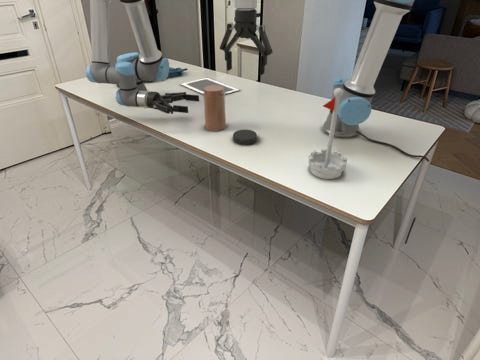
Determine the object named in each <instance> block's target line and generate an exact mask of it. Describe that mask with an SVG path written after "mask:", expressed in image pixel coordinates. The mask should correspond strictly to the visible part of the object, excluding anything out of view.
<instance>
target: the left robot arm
mask: <svg viewBox="0 0 480 360" xmlns="http://www.w3.org/2000/svg"><path fill="white" fill-rule="evenodd" d="M119 2H120V3H121V4H123V5H124V7H125V10H126V13H127V16H128V19H129V22H130V23H129V24H130V26H131V29H132V33H133V35H134V38H135V42H136V44H137V47H138V51H139V52H128V53H125V54H120V55H119V56H117V57H116V63H115V65H114V66H111V65H110V62H111V61H110V3H112V0H89V9H90V12H89V15H90V44H91V45H90V48H91V49H90V51H91V53H90V55H91V64H89V65H88V66H86V69H85V77H86V79H87V80H88V81H89V82H90V83H94V84H109V85H116V86H117V88H119V89H118V90H116V94H115V101H116V102H117V104H118V105H119V106H124V107H131V108H132V107H133V108H143V109H152V110H157V111H160V112H161V113H165V114H167V115H170V114H171V115H173V114H174V113H183V114H189V106H188V105H177V104H173V105H171V104H172V103H173V102H178V101H183V100H185V101H187V102H188V101H189V102H200V95H199V94H188V93H187V91H181V92H180V91H179V92H165V93H164V95H161V94H160V93H159V92H158V91H150V90H148V88H147V87H146V85H145V81H143V80H147V81H146V82H156V83H157V82H165V81H166V80H167V78H169V76H168V74H169V67H170V61H169V59H168V58H166V57H163V53H162V51H160V50H159V49H158V47H157V42H156V39H155V35H154V32H153V28H152V24H151V21H150V17H149V13H148V9H147V6H146V2H145V0H119Z"/></svg>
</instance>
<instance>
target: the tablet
mask: <svg viewBox="0 0 480 360" xmlns="http://www.w3.org/2000/svg"><path fill="white" fill-rule="evenodd" d="M179 85H180V86H183V87H185V88H187V89H189V90H192V91H194V92H196V93H198V94H201V95H203V93H204V88H205V87H206V86H209V85H220V86H223V87H224V92H225V96H226V95H229V94H232V93H236V92H240V91H241V90H240V89H238V88H237V87H233V86H230V85H228V84H226V83H222V82H220V81H217V80H214V79H212V78H210V77H204V78H200V79H195V80H191V81H187V82H183V83H180V84H179Z"/></svg>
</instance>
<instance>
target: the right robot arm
mask: <svg viewBox="0 0 480 360" xmlns="http://www.w3.org/2000/svg"><path fill="white" fill-rule="evenodd" d="M414 3H415V0H374V1H373V4H374V6H375V11H374V14H373V17H372V20H371V23H370V25H369V28H368V31H367V34H366V36H365V38H364V42H363V44H362V46H361V50H360V52H359V55H358V58H357V60H356V63H355V65H354V68H353V70H352V74H351V76H350V77H349V76H343V77H342V76H341V77H337V78H335V79H334V82H333V85H332V87H333V88H332V93H331V100H332V99H334V98H335V96H334V90H335V89H336V88H341V89H342V90H343V95H342V96H341V97H340V101H339V107H338V113H337V120H336V126H335V132H334V137H335V138H339V139H341V138H342V139H349V138H354V137H356V136H357V135H360V136H362V137H363V138H364V139H366V140H368V141H369V142H372V143H376V144H381V145H386V146H389V147H392V148H394V149H396V150H397V151H399V152H400V153H402V154H404V155H407V156H408V157H411V158H422V159H424V160H426V162H430V159H429V158H428V157H427V156H425V155H420V154H419V155H415V154H411V153H408V152H405V151H404V150H402V149H401V148H400V147H398V146H396V145H394V144H391V143H388V142H384V141H379V140H375V139H372V138H369V137H368V136H366V135H365V134H364V133H361V131H360V124H362V123H364V122H366V121H367V120H368V119H369V118H370V116H371V113H372V104H371V103H372V102H373V99H374V97H375V95H376V89H375V87H374V86H375V83H376V82H377V81H376V80H377V79H378V76H379V73H380V71H381V69H382V66H383V64H384V62H385V59H386V57H387V55H388V53H389V49H390V47H391V44H392V42H393V40H394V38H395V35H396V33H397V30H398V28H399V25H400V23H401V20H402V19H403V16H405V15H406V14H407V13H410V11H411V10H412V7H413V5H414ZM257 7H258V0H234V8H235V10H234V21H235V22H234V23H233V22H228V23H227V24H226V30H225V33H224V35H223V38H222V40H221V43H220V45H219V50H220V51H223V52H224V61H226V71H231V70H232V69H233V52H232V50H231V49H232V48H233V47H234V45H235V44H236V43H237V41H238V40H239V39H246V40H249V39H250V40H251V41H252V42H253V44H254V45H255V47H256V48H257V50H258V51H259V53H260V56H259V76H263V75H264V74H265V72H266V71H265V70H266V69H265V68H266V66H267V65H268V56H270V55H272V54H273V53H274V51H273V48H272V45H271V44H270V40H269V38H268V35H267V33H266V25H264V24H262V25H258V24H257V21H258V20H257V19H258V18H257V17H258V11H257ZM234 30H235V33H234V35H233V36H232V38H231V35H232V33H233V31H234ZM256 32H258V33H259V35H258V34H257V33H256ZM259 37H260V38H259ZM230 38H231V39H230ZM260 39H261V40H260ZM229 40H230V41H229ZM332 114H333V111H332V110H330V109H329V112H328V115H327V117H326V120H325V121H324V123H323V126H322V130H323V132H324V133H325V134H326V135H329V134H330V127H331V121H332ZM416 219H417V217H414V218H413V219H412V222H411V225H410V227H409V230H408V233H407V236H406V239H405V240H404V244H405V245H407V243H408V241H409V238H410V234H411V232H412V229H413V227H414V224H415V222H416Z"/></svg>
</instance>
